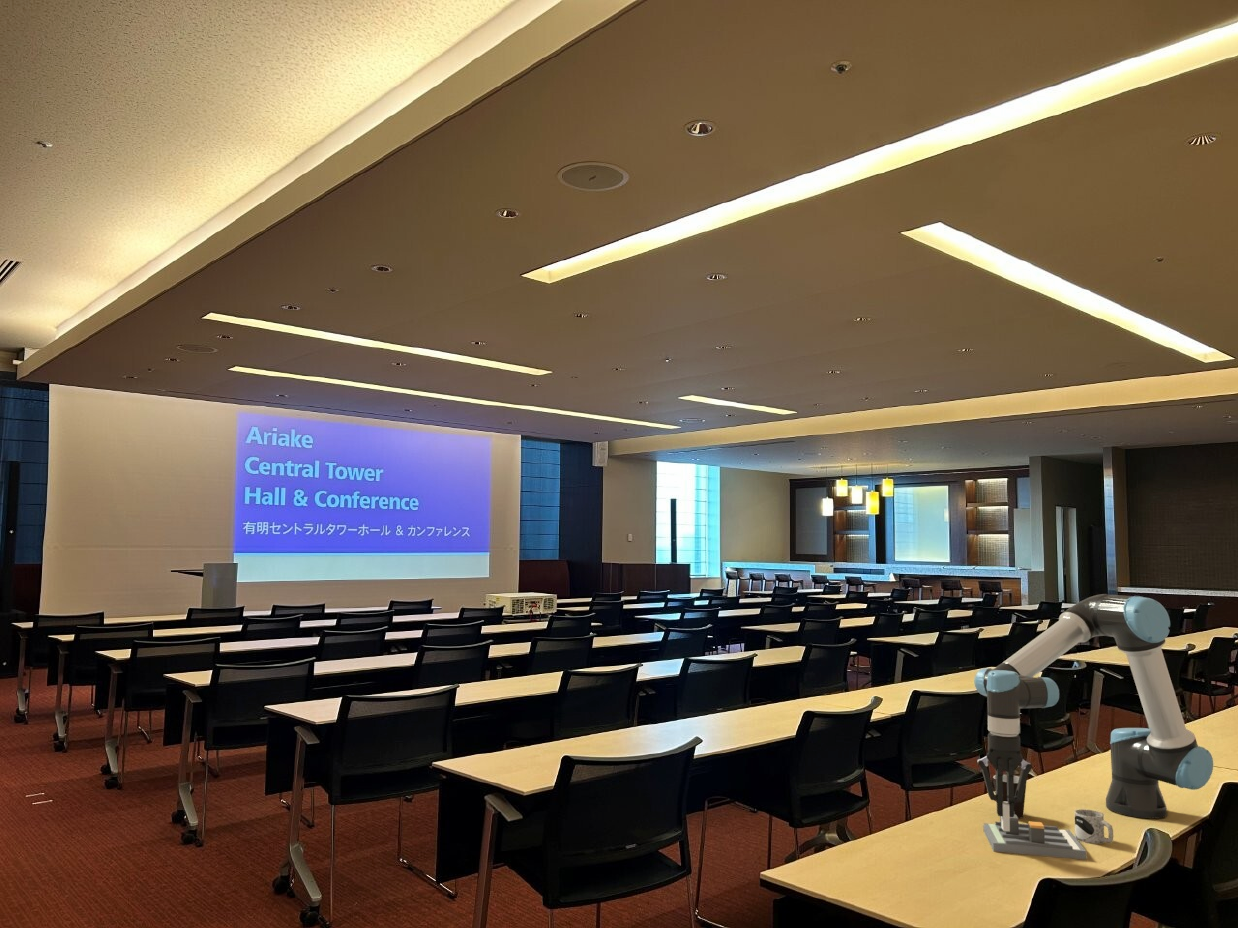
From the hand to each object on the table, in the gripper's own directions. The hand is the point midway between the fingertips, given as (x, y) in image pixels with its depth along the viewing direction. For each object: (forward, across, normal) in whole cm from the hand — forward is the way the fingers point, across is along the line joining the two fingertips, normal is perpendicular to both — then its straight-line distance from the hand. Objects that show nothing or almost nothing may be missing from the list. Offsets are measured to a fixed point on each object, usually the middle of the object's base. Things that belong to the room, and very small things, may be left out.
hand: (1005, 829), depth 222 cm
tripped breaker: (+3, -7, 0) cm, 8 cm away
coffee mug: (+5, -6, -31) cm, 32 cm away
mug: (+5, -24, -12) cm, 27 cm away
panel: (+5, -7, -5) cm, 10 cm away
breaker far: (+3, -2, -10) cm, 11 cm away
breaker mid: (+3, -2, -5) cm, 6 cm away
